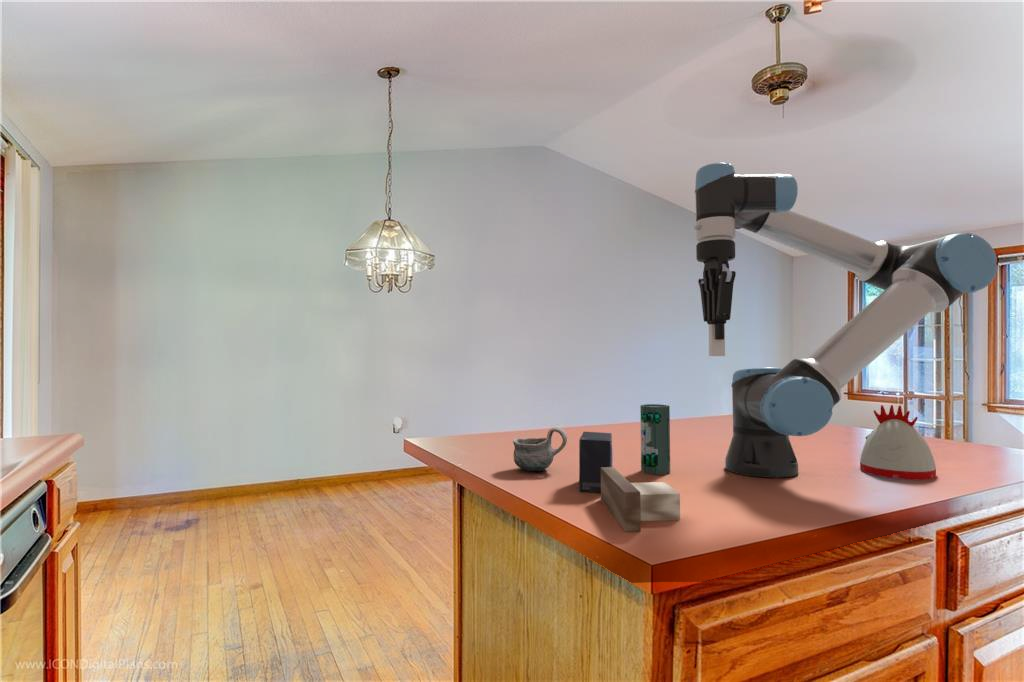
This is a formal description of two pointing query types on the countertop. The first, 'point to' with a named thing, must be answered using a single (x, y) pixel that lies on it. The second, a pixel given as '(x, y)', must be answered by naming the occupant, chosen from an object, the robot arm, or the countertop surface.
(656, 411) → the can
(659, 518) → the maple block
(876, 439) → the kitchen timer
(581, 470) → the small box
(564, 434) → the mug
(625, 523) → the walnut board
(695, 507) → the countertop surface
